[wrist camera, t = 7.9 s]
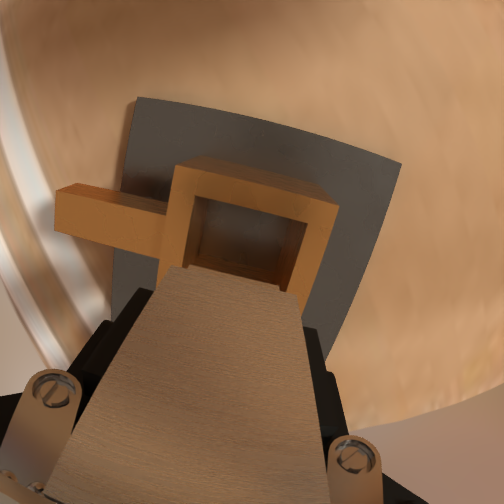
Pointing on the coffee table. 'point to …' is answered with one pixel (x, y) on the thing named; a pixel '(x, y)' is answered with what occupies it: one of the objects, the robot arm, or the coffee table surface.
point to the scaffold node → (237, 208)
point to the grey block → (201, 404)
